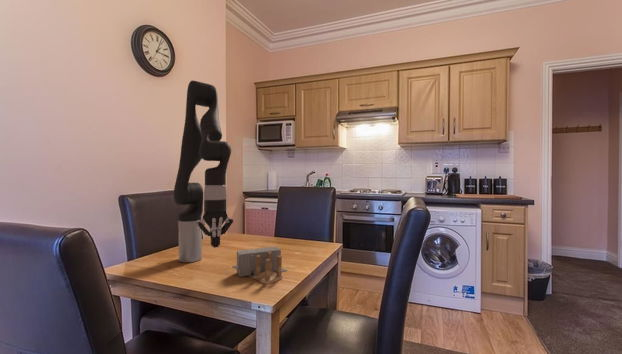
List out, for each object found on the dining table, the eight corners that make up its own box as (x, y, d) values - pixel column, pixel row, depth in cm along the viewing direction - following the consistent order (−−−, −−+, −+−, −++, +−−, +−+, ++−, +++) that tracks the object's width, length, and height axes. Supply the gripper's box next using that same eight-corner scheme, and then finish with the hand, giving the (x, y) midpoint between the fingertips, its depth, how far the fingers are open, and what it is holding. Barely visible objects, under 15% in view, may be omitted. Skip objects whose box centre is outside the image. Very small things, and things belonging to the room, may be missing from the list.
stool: (254, 278, 103) (254, 255, 103) (269, 273, 108) (269, 251, 108) (266, 285, 98) (267, 261, 98) (282, 279, 104) (282, 256, 103)
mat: (232, 267, 117) (232, 266, 117) (263, 260, 126) (263, 259, 126) (253, 279, 103) (253, 278, 103) (287, 271, 112) (287, 270, 112)
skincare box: (238, 255, 104) (281, 249, 110) (235, 250, 111) (276, 244, 116) (239, 278, 104) (282, 271, 110) (236, 272, 111) (277, 266, 117)
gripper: (229, 196, 110) (229, 242, 111) (192, 198, 102) (192, 247, 103) (237, 197, 104) (237, 246, 105) (199, 199, 96) (199, 252, 97)
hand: (215, 246), depth 104 cm, fingers closed
